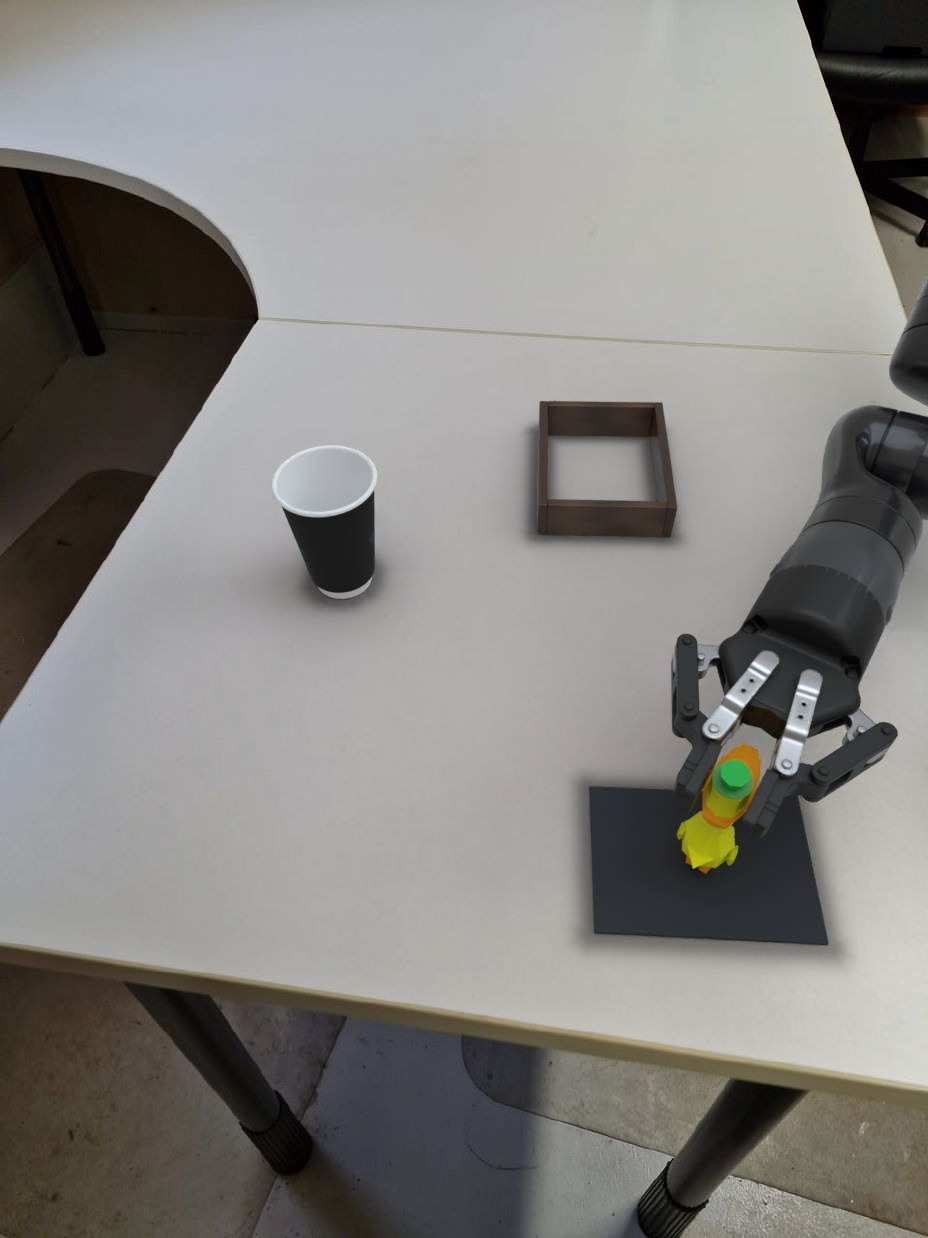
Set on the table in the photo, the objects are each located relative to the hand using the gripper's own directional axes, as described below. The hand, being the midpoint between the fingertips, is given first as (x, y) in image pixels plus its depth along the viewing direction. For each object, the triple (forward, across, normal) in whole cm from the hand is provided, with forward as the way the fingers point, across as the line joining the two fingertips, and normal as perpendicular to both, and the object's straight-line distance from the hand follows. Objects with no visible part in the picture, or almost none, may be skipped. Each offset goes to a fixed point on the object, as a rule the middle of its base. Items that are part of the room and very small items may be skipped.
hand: (713, 817), depth 46 cm
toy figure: (-3, 0, -10) cm, 11 cm away
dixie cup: (-10, +35, -11) cm, 38 cm away
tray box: (-32, +23, -11) cm, 41 cm away
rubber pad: (-3, 0, -11) cm, 11 cm away
